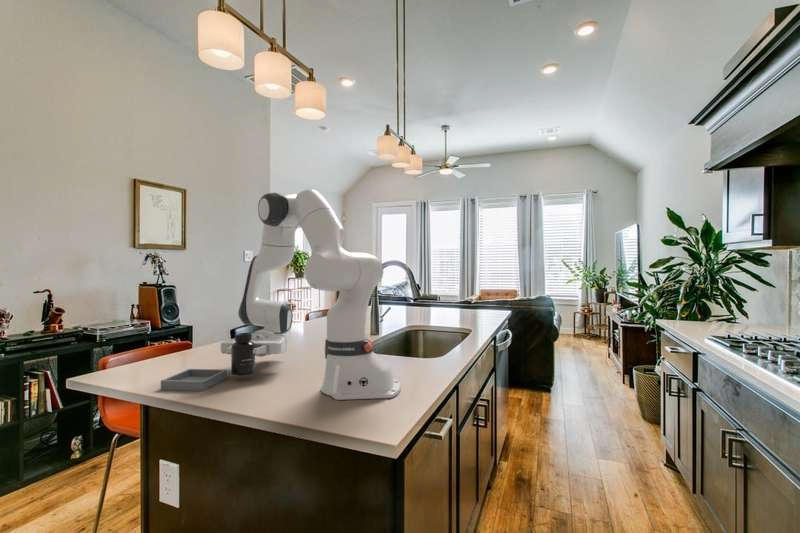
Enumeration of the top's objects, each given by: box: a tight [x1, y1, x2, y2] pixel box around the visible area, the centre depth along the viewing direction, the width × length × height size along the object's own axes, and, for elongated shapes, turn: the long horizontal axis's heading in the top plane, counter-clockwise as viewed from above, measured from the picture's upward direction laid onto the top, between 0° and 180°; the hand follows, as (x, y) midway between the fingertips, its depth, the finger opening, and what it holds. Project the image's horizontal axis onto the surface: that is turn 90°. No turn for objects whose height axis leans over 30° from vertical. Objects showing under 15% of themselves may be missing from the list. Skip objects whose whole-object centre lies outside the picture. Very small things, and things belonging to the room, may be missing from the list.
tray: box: [160, 368, 228, 392], centre depth 113 cm, size 13×13×2 cm
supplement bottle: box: [230, 332, 256, 376], centre depth 117 cm, size 7×7×12 cm
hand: (241, 351), depth 116 cm, fingers closed on supplement bottle, 7 cm apart
